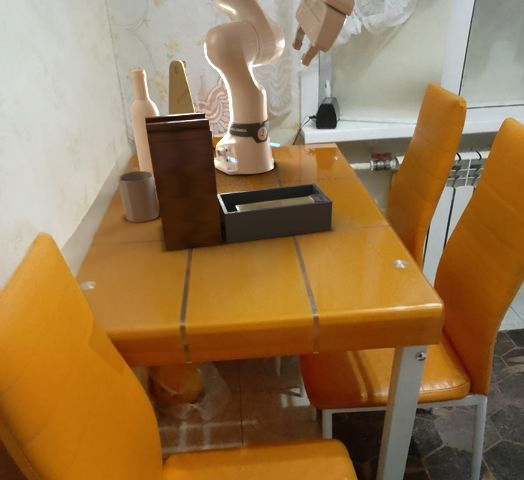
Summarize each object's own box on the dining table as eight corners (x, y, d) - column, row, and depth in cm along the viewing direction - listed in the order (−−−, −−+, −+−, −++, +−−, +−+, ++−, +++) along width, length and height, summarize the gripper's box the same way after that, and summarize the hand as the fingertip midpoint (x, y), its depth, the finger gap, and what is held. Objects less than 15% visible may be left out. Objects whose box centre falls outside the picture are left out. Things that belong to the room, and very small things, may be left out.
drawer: (316, 213, 121) (316, 194, 118) (322, 220, 117) (322, 200, 114) (236, 223, 118) (234, 204, 115) (239, 231, 114) (238, 211, 111)
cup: (147, 207, 131) (140, 169, 125) (165, 214, 126) (159, 175, 120) (120, 216, 126) (111, 177, 120) (137, 224, 121) (129, 184, 115)
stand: (213, 221, 121) (202, 109, 106) (222, 244, 110) (211, 122, 95) (162, 227, 119) (144, 114, 104) (166, 250, 108) (145, 128, 93)
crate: (313, 210, 125) (314, 183, 121) (331, 230, 114) (332, 201, 110) (218, 221, 121) (216, 193, 117) (227, 243, 110) (224, 213, 106)
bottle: (141, 182, 148) (120, 69, 130) (167, 179, 150) (150, 66, 132) (144, 190, 142) (123, 72, 124) (171, 187, 144) (154, 70, 126)
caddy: (186, 143, 184) (175, 50, 166) (214, 142, 183) (206, 49, 166) (172, 166, 161) (157, 61, 143) (204, 165, 160) (193, 59, 142)
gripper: (307, -33, 107) (278, 34, 116) (331, -5, 94) (296, 67, 103) (331, -18, 109) (301, 45, 118) (357, 10, 96) (321, 79, 105)
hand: (299, 56), depth 110 cm, fingers open, 8 cm apart
